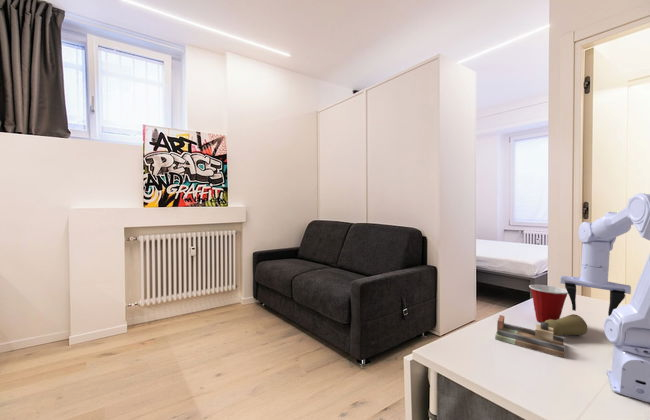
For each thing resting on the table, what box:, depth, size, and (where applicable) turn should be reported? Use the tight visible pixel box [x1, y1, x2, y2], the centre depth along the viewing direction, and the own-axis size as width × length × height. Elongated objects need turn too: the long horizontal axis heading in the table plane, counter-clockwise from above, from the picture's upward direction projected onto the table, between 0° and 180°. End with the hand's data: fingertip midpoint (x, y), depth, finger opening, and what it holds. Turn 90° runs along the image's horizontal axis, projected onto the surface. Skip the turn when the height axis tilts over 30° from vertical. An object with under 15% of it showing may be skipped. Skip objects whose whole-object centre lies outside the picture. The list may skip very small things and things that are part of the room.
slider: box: [534, 322, 553, 343], centre depth 84 cm, size 4×4×5 cm
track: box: [494, 315, 565, 359], centre depth 86 cm, size 16×9×5 cm, turn 52°
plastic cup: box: [528, 284, 569, 324], centre depth 99 cm, size 11×11×12 cm
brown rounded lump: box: [545, 313, 588, 337], centre depth 90 cm, size 6×6×11 cm
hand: (591, 313), depth 83 cm, fingers open, 7 cm apart
